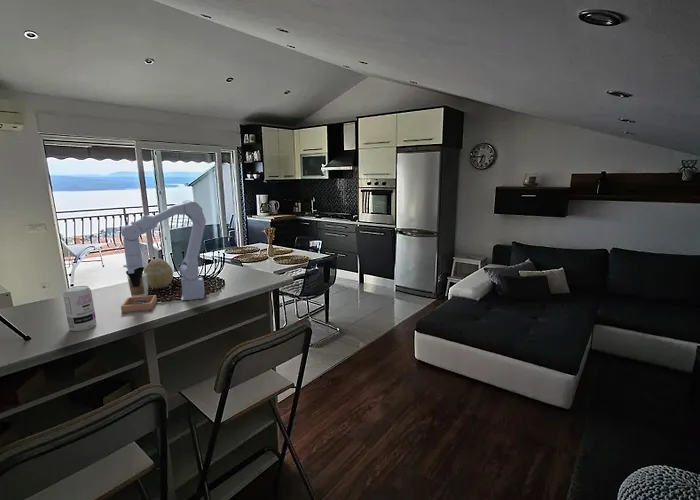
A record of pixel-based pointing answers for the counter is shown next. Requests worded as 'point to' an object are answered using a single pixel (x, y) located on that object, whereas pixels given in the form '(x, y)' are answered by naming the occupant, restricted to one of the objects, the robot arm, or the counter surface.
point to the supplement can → (79, 308)
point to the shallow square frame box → (139, 304)
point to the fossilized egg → (158, 273)
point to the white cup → (143, 284)
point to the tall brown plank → (137, 288)
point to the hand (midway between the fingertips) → (137, 285)
